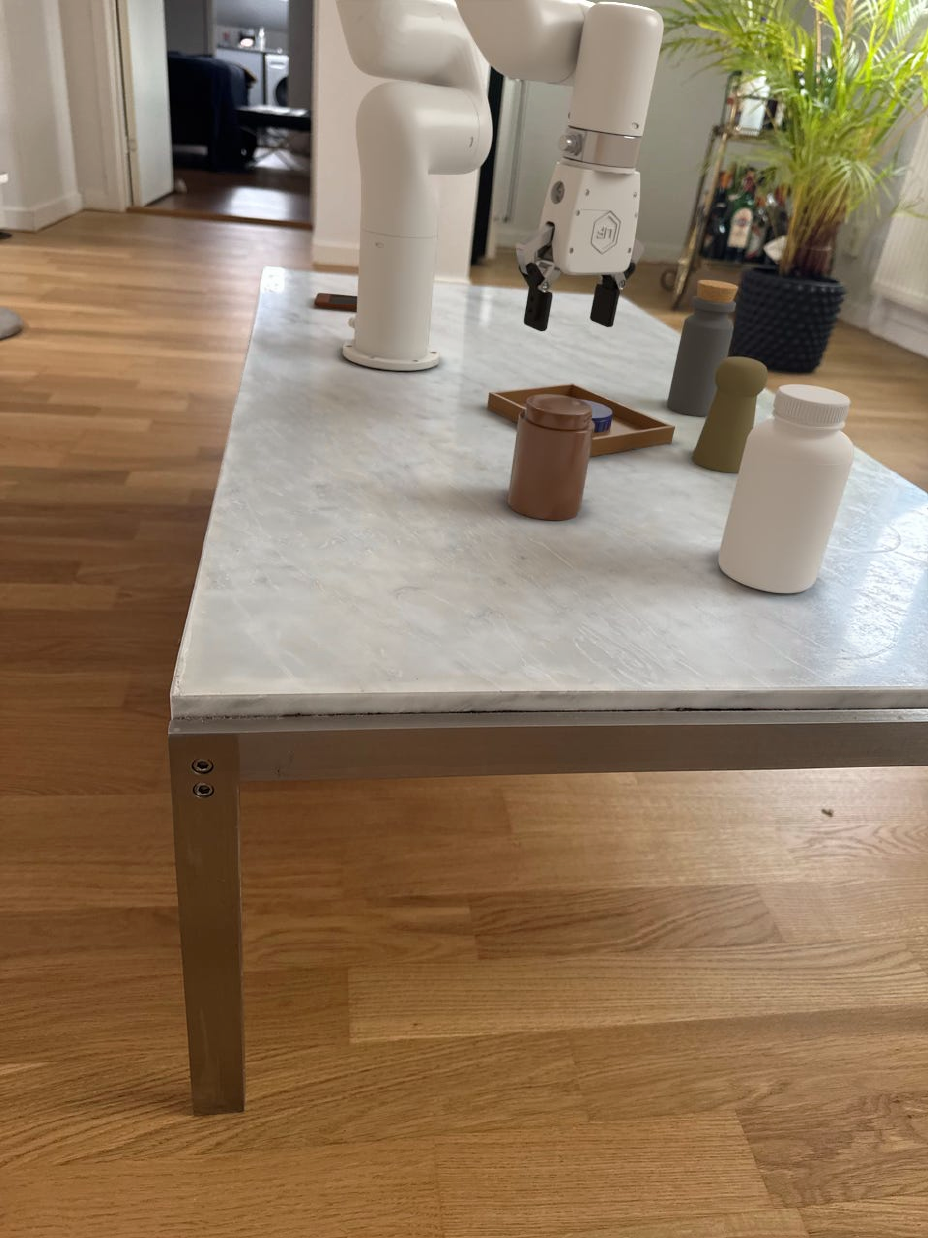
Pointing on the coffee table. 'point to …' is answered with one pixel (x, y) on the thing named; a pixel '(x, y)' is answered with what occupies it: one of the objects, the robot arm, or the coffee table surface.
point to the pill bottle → (788, 491)
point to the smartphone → (336, 301)
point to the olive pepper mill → (730, 414)
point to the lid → (600, 416)
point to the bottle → (702, 348)
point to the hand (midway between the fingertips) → (568, 325)
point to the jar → (551, 457)
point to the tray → (623, 434)
